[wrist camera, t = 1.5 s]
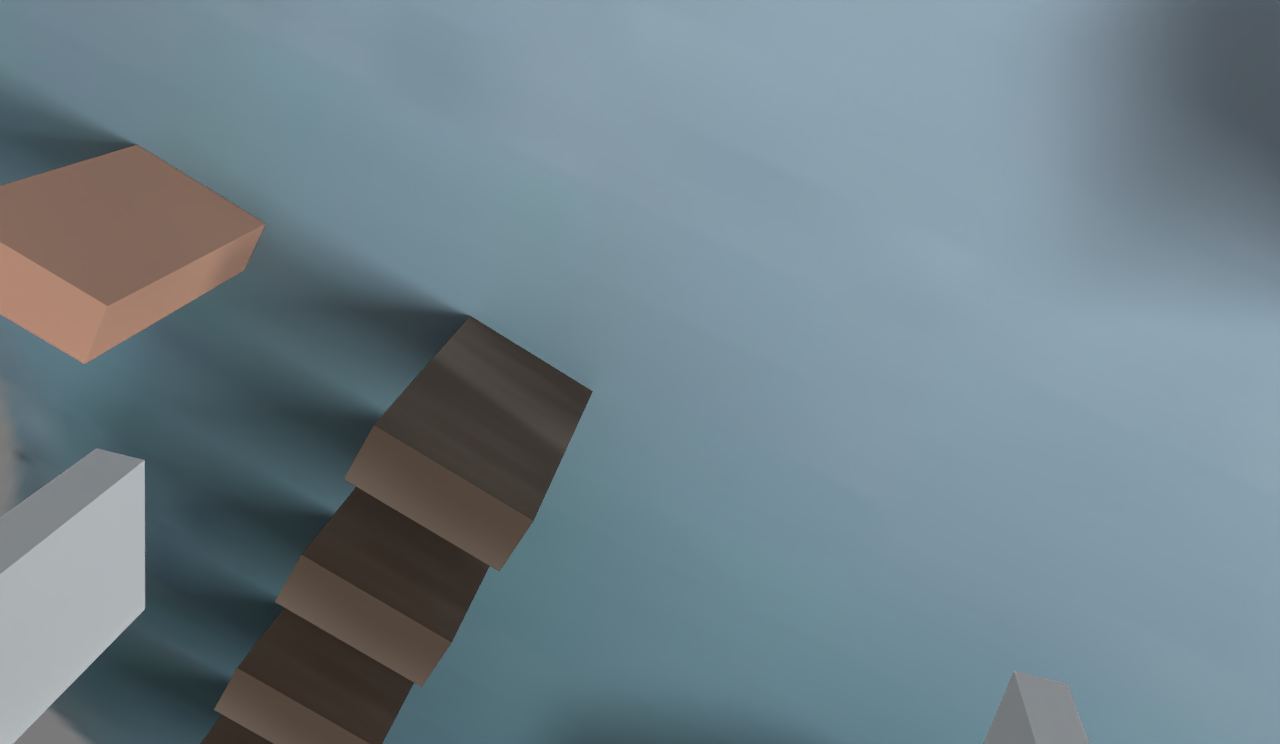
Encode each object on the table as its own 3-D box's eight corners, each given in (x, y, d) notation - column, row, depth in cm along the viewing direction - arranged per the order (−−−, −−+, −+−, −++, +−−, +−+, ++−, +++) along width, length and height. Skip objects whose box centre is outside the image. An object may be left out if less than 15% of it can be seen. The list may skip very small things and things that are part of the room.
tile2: (565, 433, 37) (499, 571, 29) (444, 360, 37) (343, 479, 29) (592, 391, 37) (533, 521, 28) (470, 316, 36) (373, 425, 28)
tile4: (441, 620, 41) (352, 788, 33) (331, 555, 41) (214, 710, 33) (464, 585, 41) (379, 749, 32) (352, 519, 40) (237, 668, 32)
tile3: (500, 531, 39) (421, 686, 31) (385, 463, 39) (274, 601, 31) (525, 493, 39) (451, 642, 30) (408, 423, 38) (301, 554, 30)
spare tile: (244, 270, 37) (84, 363, 29) (117, 193, 36) (-82, 266, 28) (265, 223, 36) (108, 306, 28) (136, 144, 36) (-62, 204, 27)
